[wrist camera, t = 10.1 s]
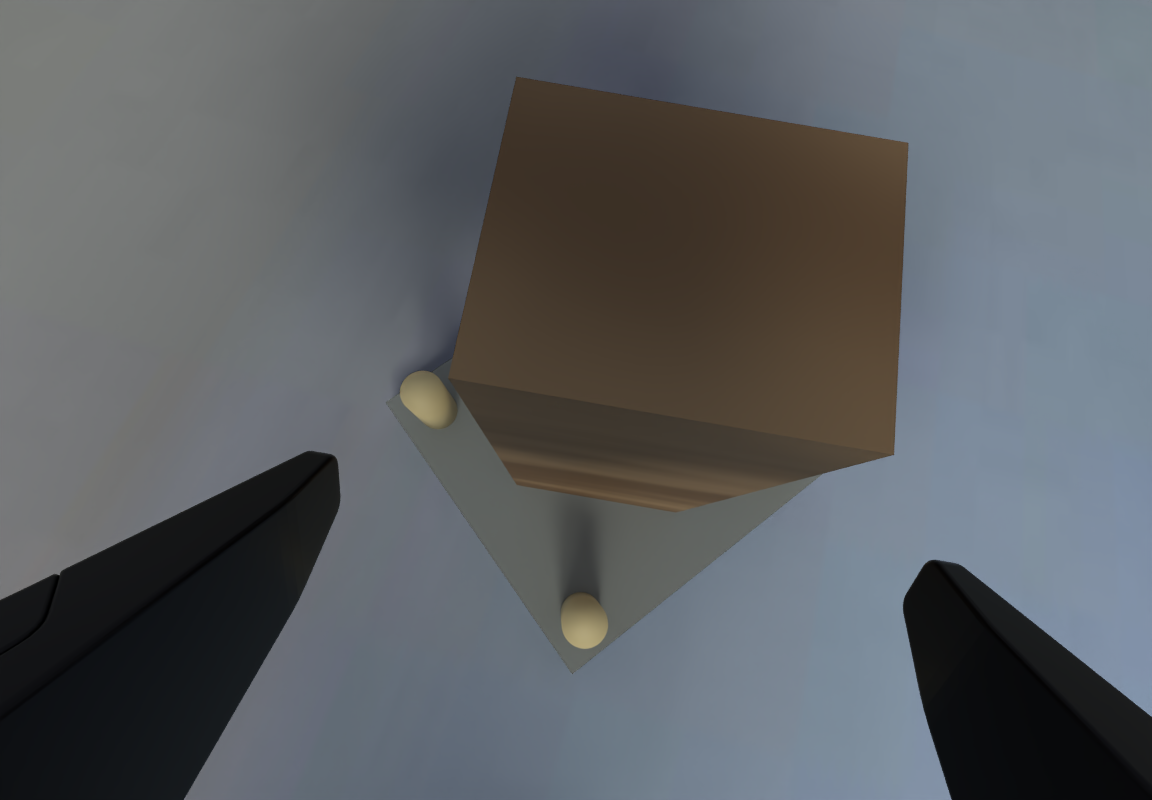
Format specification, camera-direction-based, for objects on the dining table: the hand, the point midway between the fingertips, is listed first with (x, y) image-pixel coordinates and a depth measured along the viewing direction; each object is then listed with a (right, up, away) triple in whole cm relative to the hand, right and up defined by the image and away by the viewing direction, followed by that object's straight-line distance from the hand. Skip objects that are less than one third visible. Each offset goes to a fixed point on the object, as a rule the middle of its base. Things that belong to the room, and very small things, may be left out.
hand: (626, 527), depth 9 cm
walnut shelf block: (0, +1, +10) cm, 10 cm away
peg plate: (0, +1, +11) cm, 11 cm away
